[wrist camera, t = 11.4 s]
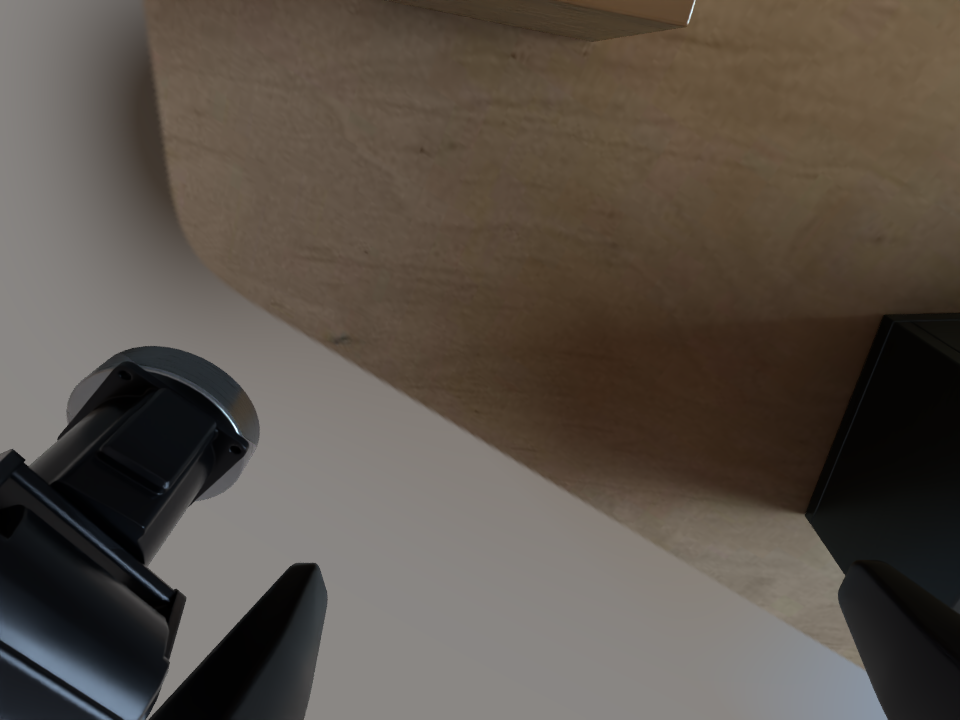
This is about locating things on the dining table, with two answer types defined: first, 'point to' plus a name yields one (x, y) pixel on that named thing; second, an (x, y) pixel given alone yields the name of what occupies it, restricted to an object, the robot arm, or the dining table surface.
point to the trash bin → (899, 458)
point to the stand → (572, 15)
